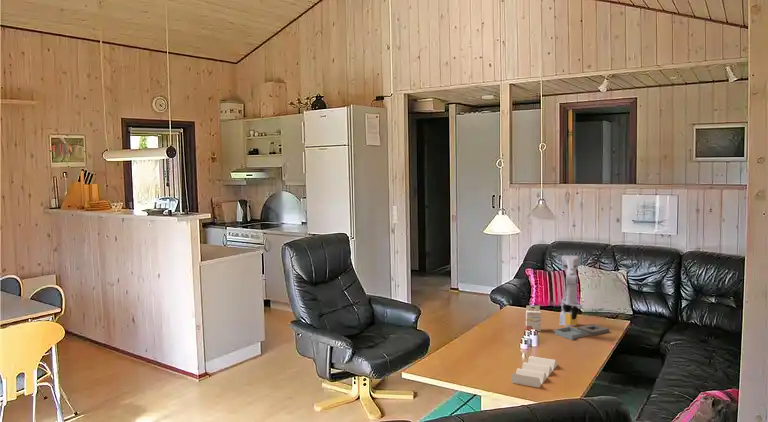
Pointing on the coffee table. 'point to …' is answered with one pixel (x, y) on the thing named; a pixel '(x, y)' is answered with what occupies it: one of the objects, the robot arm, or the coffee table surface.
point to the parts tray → (570, 333)
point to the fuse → (570, 319)
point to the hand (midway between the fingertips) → (571, 318)
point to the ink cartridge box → (533, 318)
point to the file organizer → (534, 371)
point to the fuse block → (593, 329)
